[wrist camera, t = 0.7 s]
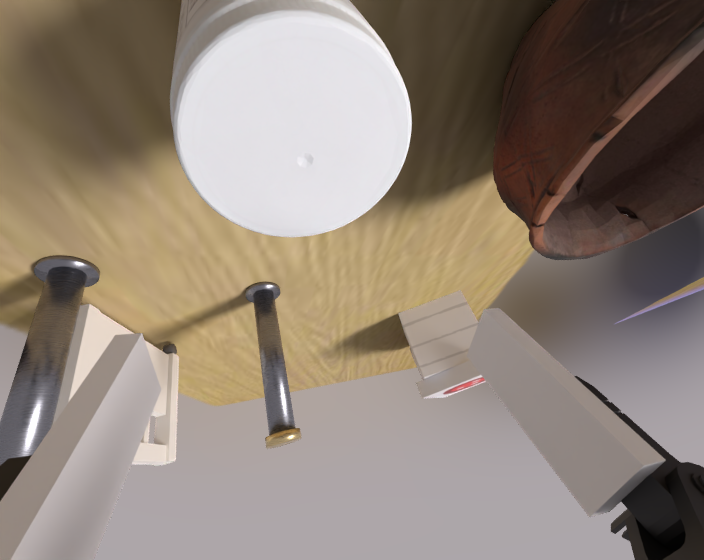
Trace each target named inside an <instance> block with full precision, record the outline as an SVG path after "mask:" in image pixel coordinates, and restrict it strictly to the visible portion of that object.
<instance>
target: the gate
mask: <svg viewBox="0 0 704 560" xmlns="http://www.w3.org/2000/svg"><path fill="white" fill-rule="evenodd" d="M121 334H134V333H133V332H131V331H129V330H128V329H126V328H125V327H123V326H121V325H120V324H118V323H117V322H115V321H113V320H112V319H110V318H109V317H107V316H106V315H104V314H102V313H101V312H100V310H99V309H97V308H96V307H94V306H92V305H91V304H86V305H81V306H80V309H79V314H78V318H77V322H76V327H75V331H74V335H73V339H72V344H71V348H70V352H69V357H68V361H67V365H66V369H65V374H64V378H63V382H62V387H61V391H60V395H59V400H58V404H57V408H56V412H55V417H54V421H53V424H54V423H55V421H56V420H57V419H58V417H59V416H60V414H61V413H62V411H63V410H64V408H65V407H66V406H67V404H68V403H69V401H70V400H71V398H72V397H73V395H74V394H75V393H76V391H77V390H78V388H79V387H80V385H81V384H82V382H83V381H84V379H85V378H86V377H87V375H88V374H89V372H90V371H91V369H92V368H93V366H94V365H95V364H96V362H97V361H98V359H99V358H100V356H101V355H102V353H103V352H104V351H105V349H106V348H107V346H108V345H109V343H110V342H111V340H112V339H113V338H114V336H115V335H121ZM145 343H146V346H147V349H148V352H149V355H150V358H151V361H152V363H153V366H154V369H155V372H156V375H157V378H158V381H159V384H160V386H161V392H160V395H159V397H158V400H157V402H156V405H155V407H154V410H153V412H152V415H151V416H155V417H156V424H155V438H154V444H149V443H148V440H149V426H150V420H149V422H148V425H147V427H146V430H145V432H144V435H143V437H142V440H141V442H140V445H139V447H138V450H137V452H136V455H135V457H134V460H133V462H132V464H145V465H146V464H149V465H153V466H154V465H155V466H161V465H164V464H167V463H171V462H174V461H176V436H177V404H178V403H177V402H178V371H179V356H177V355H176V353H177V350H176V346H175V345H174V344H170V345H165V346H164V347H163V351H161V350H159V349H158V348H156V347H155V346H153V345H152V344H150V343H148V342H147V341H145ZM52 426H53V425H52Z"/></svg>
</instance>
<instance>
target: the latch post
mask: <svg viewBox="0 0 704 560" xmlns="http://www.w3.org/2000/svg"><path fill="white" fill-rule="evenodd" d="M245 293H246V298H247V300H248V301H250V302H253V303H254V309H255V317H256V326H257V334H258V343H259V351H260V360H261V368H262V377H263V385H264V393H265V401H266V410H267V419H268V427H269V436H268V437H266V438H265V441H266V448H267V449H268V448H275V447H279V446H283V445H286V444H289V443H292V442H295V441H297V440H299V439H301V433H300V429H299V428H295V423H294V417H293V410H292V404H291V398H290V392H289V386H288V380H287V373H286V367H285V361H284V355H283V349H282V342H281V336H280V330H279V324H278V318H277V312H276V305H275V299H276V298H277V297H278V296H279V295H280V288H279V286H278V285H277V284H275V283H272V282H259V283H256V284H253V285H251V286H250V287H248V288H247V290H246V292H245Z"/></svg>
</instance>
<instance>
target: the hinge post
mask: <svg viewBox="0 0 704 560" xmlns="http://www.w3.org/2000/svg"><path fill="white" fill-rule="evenodd" d="M34 273H35V275H36V276H37V277H38V278H39V279H40V280H42V281H44V282H45V283H44V287H43V290H42V293H41V296H40V299H39V302H38V305H37V308H36V312H35V315H34V318H33V321H32V324H31V327H30V330H29V333H28V337H27V340H26V343H25V346H24V349H23V353H22V356H21V359H20V362H19V365H18V368H17V371H16V374H15V377H14V380H13V383H12V387H11V390H10V393H9V396H8V399H7V402H6V405H5V409H4V412H3V415H2V418H1V421H0V465H2V464H3V463H4V462H5V461H6V460H7V459H9V458H16V457H23V456H30V455H33V453H34V452H35V450H36V449H37V447H38V446H39V445H40V443H41V442H42V440H43V439H44V437H45V436H46V434H47V433H48V432H49V430H50V429H51V427H52V425H53V421H54V417H55V412H56V408H57V404H58V400H59V395H60V391H61V387H62V382H63V378H64V374H65V369H66V365H67V361H68V357H69V352H70V348H71V344H72V339H73V335H74V331H75V327H76V322H77V318H78V314H79V309H80V305H81V301H82V297H83V292H84V288H85V287H89V286H92V285H94V284H95V283H97V282H98V280H99V276H100V271H99V269H98V268H97V267H96V266H95V265H94V264H92V263H90V262H88V261H86V260H83V259H80V258H76V257H71V256H49V257H45V258H43V259H41V260H39V261H38V262H37V263H36V266H35V268H34Z"/></svg>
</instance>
